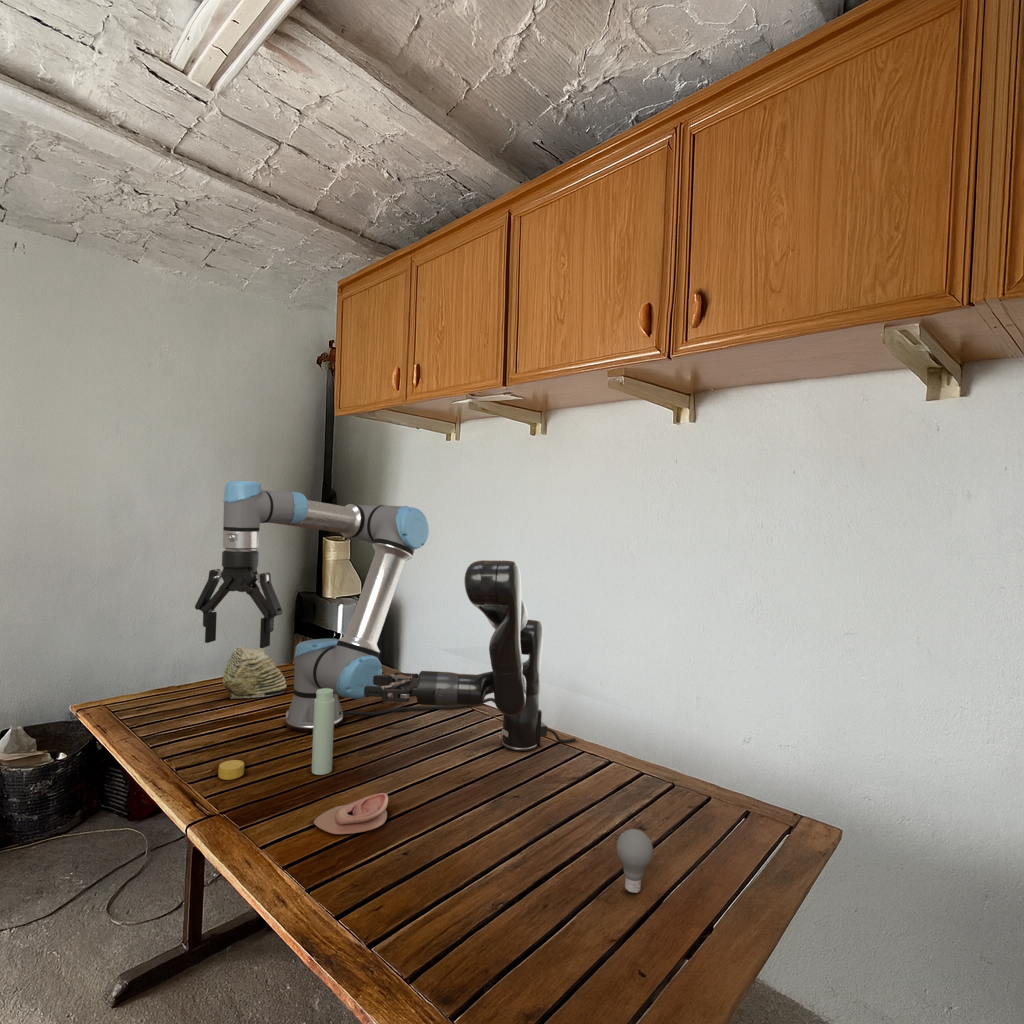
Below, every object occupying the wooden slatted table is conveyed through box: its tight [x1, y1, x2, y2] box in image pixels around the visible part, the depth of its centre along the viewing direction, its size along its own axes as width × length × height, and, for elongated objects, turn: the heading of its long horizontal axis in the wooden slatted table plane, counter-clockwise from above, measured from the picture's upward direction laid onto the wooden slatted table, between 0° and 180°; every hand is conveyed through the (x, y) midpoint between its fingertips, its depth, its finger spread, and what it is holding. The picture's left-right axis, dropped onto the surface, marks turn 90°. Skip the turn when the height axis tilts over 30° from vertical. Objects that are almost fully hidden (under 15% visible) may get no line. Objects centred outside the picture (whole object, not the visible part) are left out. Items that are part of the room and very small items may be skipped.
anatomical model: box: [313, 792, 389, 835], centre depth 124 cm, size 13×4×12 cm
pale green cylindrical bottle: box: [311, 688, 335, 776], centre depth 146 cm, size 4×4×19 cm
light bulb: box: [615, 828, 654, 894], centre depth 106 cm, size 6×6×10 cm
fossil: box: [222, 646, 288, 699], centre depth 198 cm, size 9×18×15 cm, turn 132°
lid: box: [217, 759, 245, 781], centre depth 142 cm, size 5×5×2 cm
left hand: (237, 644), depth 142 cm, fingers open, 13 cm apart
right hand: (369, 685), depth 146 cm, fingers open, 8 cm apart
